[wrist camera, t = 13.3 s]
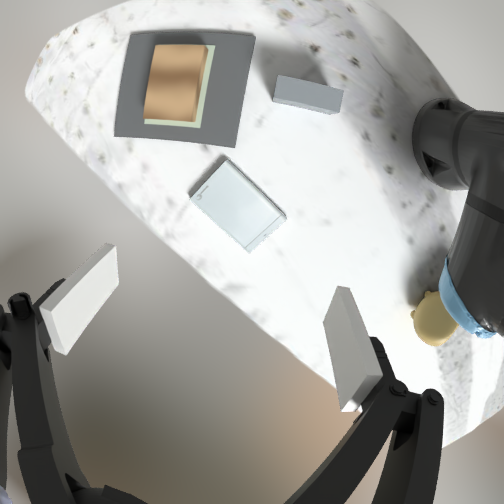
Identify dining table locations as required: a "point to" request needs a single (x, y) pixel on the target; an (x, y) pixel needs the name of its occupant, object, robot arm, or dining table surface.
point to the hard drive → (238, 207)
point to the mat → (211, 95)
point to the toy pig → (433, 320)
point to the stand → (307, 95)
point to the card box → (175, 82)
